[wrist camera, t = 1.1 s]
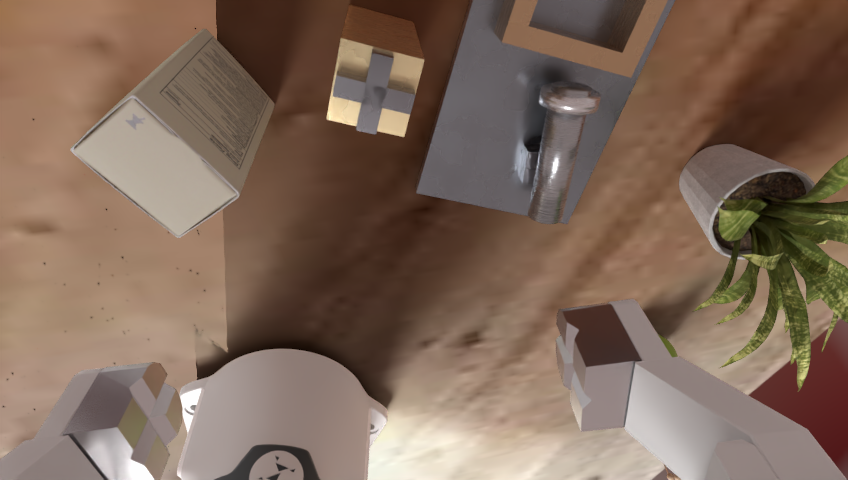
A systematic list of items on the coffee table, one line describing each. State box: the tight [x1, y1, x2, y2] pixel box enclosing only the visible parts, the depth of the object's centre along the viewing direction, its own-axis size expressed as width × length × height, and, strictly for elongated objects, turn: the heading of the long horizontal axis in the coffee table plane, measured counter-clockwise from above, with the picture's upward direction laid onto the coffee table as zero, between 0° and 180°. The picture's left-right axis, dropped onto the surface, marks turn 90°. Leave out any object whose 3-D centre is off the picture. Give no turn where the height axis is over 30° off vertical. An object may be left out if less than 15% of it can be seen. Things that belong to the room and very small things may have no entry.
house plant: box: [679, 144, 848, 390], centre depth 33 cm, size 14×14×16 cm
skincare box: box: [71, 29, 275, 238], centre depth 29 cm, size 6×4×12 cm
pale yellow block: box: [326, 4, 424, 137], centre depth 29 cm, size 4×4×10 cm
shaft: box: [518, 81, 601, 224], centre depth 35 cm, size 9×4×4 cm, turn 177°
